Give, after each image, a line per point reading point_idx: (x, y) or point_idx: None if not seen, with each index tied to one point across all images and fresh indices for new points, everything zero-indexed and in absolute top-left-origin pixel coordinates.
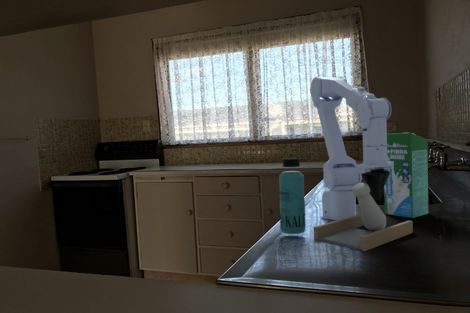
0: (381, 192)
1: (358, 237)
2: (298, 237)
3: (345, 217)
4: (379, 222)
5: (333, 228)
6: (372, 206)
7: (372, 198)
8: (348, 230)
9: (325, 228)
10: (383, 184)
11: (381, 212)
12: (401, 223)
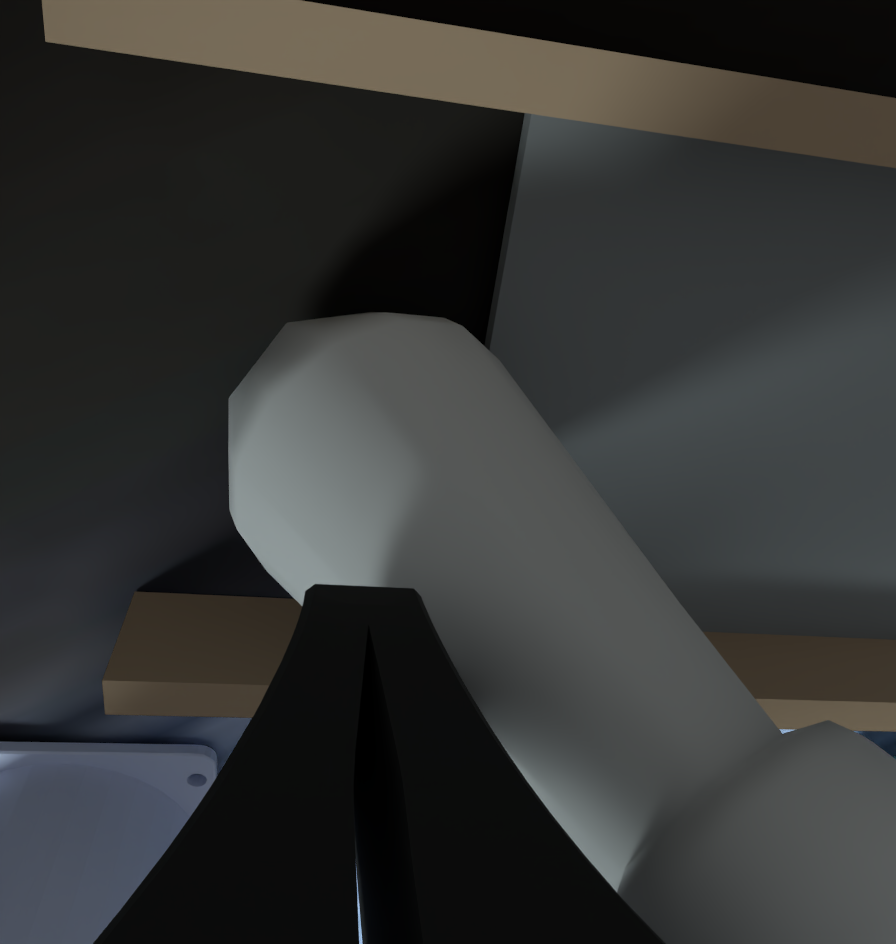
0: (345, 665)
1: (794, 385)
2: (879, 744)
3: (158, 808)
4: (484, 352)
5: None
6: (618, 533)
7: (603, 642)
8: None
9: (843, 678)
10: (287, 822)
11: (420, 411)
12: (352, 59)
